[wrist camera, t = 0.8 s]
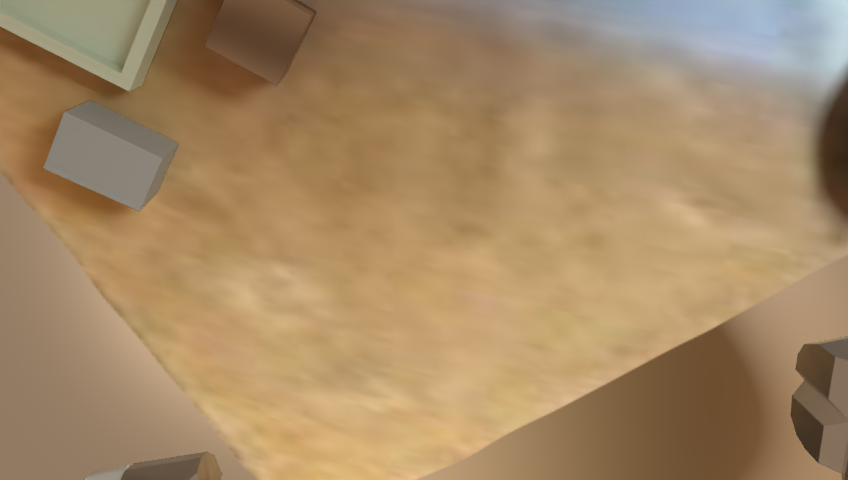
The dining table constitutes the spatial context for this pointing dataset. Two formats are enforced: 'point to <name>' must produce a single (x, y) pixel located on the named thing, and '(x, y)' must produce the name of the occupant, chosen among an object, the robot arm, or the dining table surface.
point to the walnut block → (260, 34)
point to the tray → (94, 33)
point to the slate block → (110, 154)
